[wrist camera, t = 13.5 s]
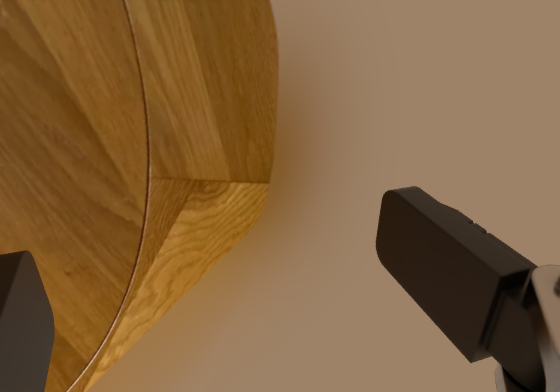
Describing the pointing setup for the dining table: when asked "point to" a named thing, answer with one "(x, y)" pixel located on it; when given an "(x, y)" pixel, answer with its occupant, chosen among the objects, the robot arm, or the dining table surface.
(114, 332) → the dining table surface
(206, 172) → the dining table surface
